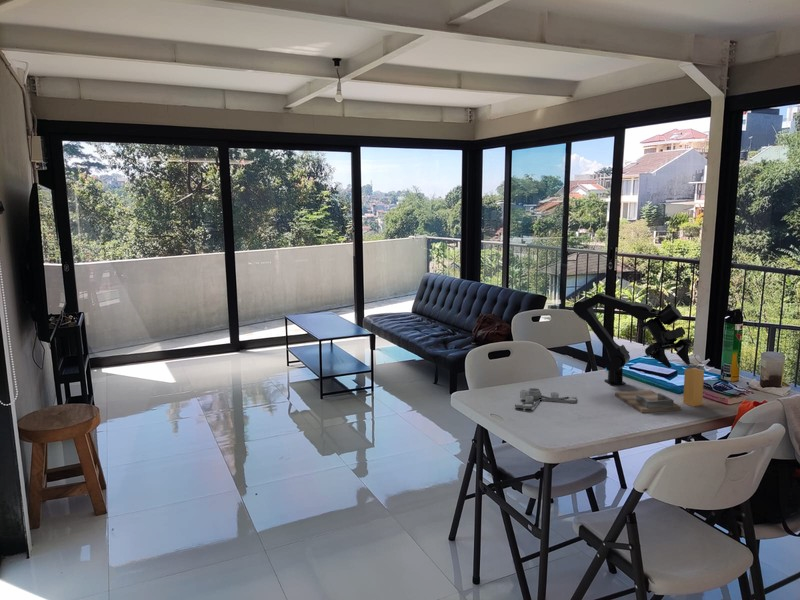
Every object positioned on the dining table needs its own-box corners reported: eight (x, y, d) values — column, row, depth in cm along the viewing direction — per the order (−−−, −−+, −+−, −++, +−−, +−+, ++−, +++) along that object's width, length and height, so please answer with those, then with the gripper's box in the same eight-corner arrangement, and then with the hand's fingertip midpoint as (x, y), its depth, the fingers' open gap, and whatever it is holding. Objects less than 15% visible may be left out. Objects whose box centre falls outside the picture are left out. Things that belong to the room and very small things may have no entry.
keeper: (614, 395, 230) (614, 386, 230) (650, 392, 232) (650, 383, 232) (641, 412, 211) (642, 402, 210) (680, 409, 213) (681, 399, 212)
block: (683, 402, 220) (684, 369, 218) (692, 401, 221) (694, 367, 219) (692, 406, 216) (694, 372, 214) (702, 404, 217) (704, 370, 215)
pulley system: (500, 402, 228) (521, 412, 214) (500, 391, 228) (521, 400, 214) (558, 395, 238) (582, 404, 224) (558, 383, 238) (583, 392, 224)
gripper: (651, 322, 222) (673, 357, 213) (689, 318, 228) (711, 351, 220) (635, 338, 230) (656, 373, 222) (672, 334, 237) (693, 367, 228)
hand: (679, 365), depth 223 cm, fingers open, 9 cm apart
